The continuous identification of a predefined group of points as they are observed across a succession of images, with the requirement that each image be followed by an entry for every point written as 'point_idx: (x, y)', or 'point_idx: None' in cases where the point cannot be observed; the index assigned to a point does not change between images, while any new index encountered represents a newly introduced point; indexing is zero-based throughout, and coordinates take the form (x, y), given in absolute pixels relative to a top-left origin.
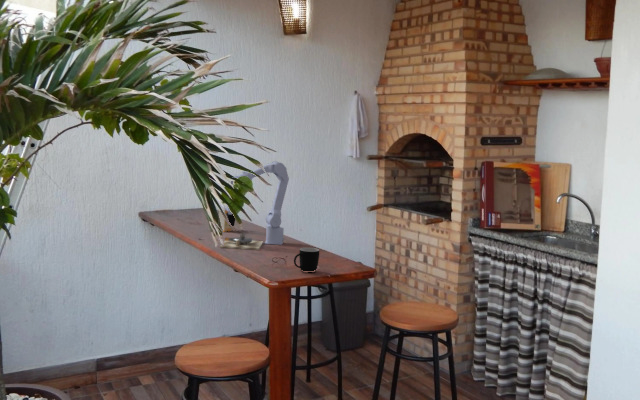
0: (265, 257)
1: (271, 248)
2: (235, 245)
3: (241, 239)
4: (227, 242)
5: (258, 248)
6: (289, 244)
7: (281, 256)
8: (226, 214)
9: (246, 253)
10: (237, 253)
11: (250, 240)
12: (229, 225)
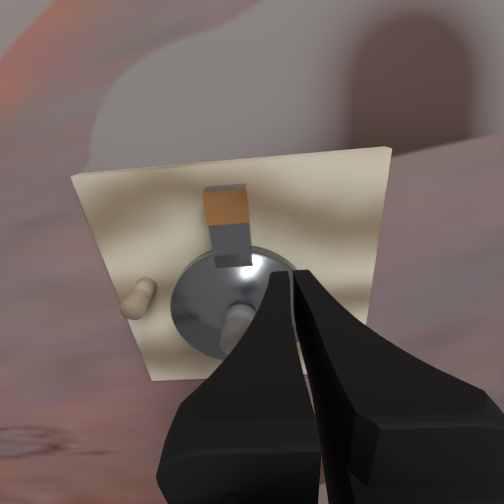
0: (22, 408)
1: None
2: (156, 270)
3: (213, 314)
4: None
5: (151, 377)
6: None
7: (84, 442)
8: (185, 412)
9: (39, 341)
10: (4, 306)
11: (221, 357)
12: (270, 276)
